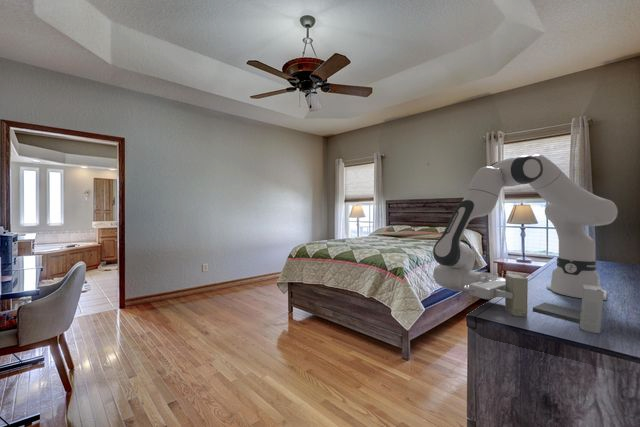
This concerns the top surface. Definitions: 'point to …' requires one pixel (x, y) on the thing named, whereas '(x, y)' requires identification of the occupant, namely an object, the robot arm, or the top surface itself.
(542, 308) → the charcoal mat
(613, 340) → the top surface
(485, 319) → the top surface
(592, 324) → the skincare box
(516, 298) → the skincare box
